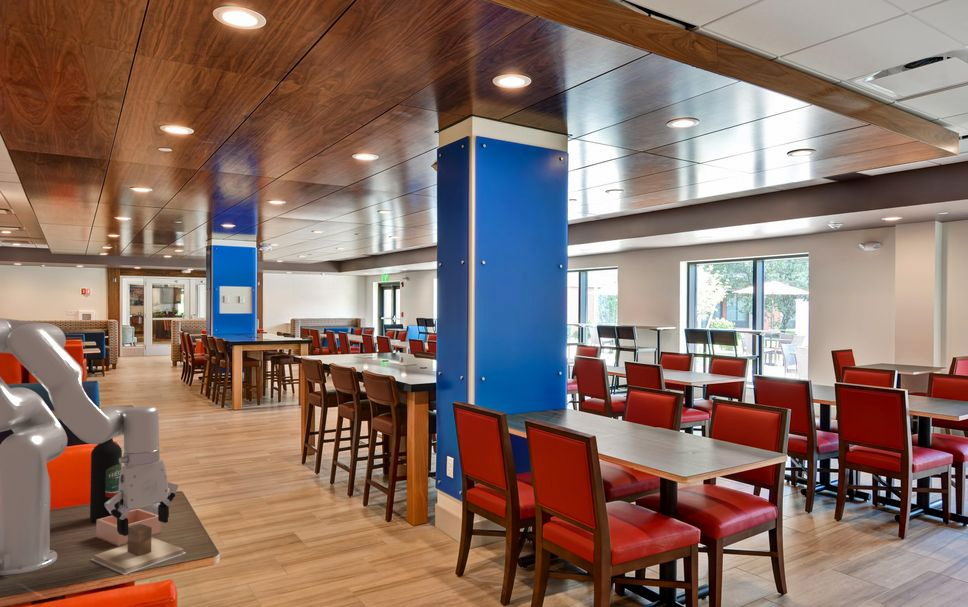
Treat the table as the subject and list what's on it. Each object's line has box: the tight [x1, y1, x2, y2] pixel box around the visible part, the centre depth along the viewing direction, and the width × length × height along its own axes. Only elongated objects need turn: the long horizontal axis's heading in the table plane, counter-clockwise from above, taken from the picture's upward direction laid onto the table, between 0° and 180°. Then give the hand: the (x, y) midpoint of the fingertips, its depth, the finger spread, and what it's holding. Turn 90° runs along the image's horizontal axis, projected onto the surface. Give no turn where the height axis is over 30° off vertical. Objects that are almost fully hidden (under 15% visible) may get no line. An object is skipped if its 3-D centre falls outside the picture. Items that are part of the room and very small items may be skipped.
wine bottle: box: [89, 438, 123, 524], centre depth 178 cm, size 8×8×30 cm
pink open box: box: [95, 509, 162, 547], centre depth 164 cm, size 11×11×5 cm
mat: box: [90, 551, 187, 576], centre depth 150 cm, size 15×15×1 cm
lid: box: [93, 524, 184, 573], centre depth 150 cm, size 14×14×7 cm
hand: (143, 528), depth 150 cm, fingers open, 9 cm apart
